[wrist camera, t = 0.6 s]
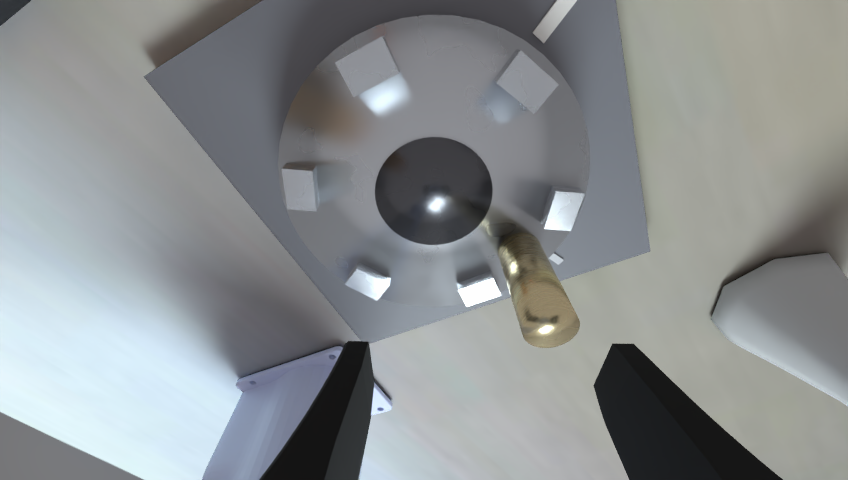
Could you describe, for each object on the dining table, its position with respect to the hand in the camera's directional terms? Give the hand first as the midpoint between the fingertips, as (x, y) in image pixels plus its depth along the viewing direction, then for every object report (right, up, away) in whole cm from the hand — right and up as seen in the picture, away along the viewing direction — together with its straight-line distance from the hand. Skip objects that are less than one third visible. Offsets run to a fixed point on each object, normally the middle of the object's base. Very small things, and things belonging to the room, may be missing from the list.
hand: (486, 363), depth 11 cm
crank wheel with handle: (-2, +7, +6) cm, 9 cm away
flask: (+20, 0, +12) cm, 23 cm away
